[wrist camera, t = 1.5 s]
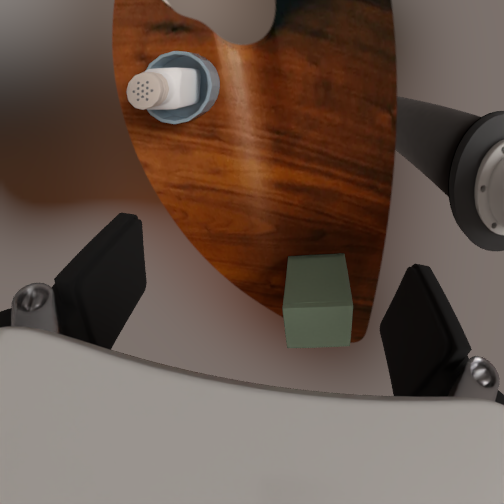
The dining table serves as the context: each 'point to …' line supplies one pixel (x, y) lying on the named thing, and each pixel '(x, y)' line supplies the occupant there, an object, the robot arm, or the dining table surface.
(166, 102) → the salt shaker
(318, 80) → the dining table surface
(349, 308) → the lidded olive box
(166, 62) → the holder cup
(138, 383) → the robot arm
